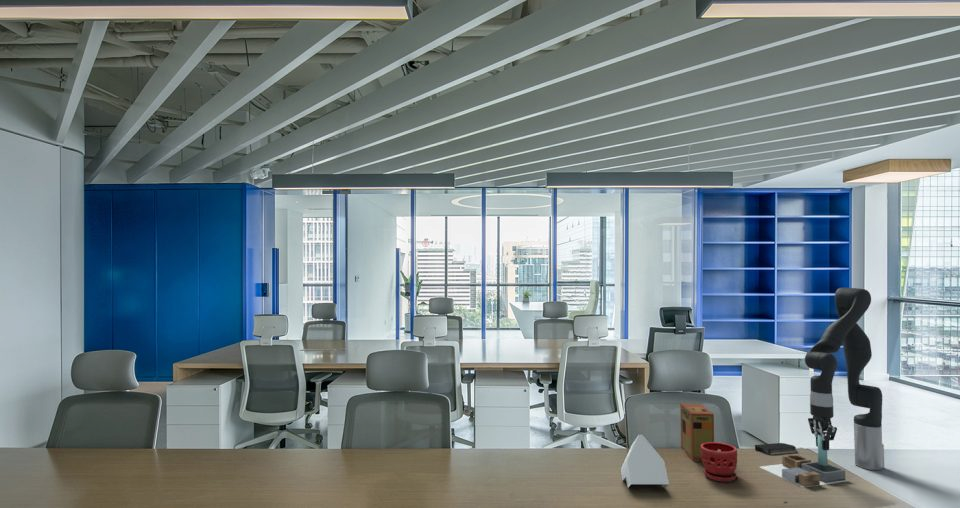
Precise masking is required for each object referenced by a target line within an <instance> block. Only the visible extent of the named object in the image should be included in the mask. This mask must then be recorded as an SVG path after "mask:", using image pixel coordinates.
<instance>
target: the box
mask: <svg viewBox="0 0 960 508" xmlns="http://www.w3.org/2000/svg"><path fill="white" fill-rule="evenodd" d="M679 413H680V448H681V449H682V450H683V451H684V450H685V451H684V452H685V454H686V455H687V456H688V457H689V458H690V460H691V461H692V460H693V461H694V462H702V457H701V444H703V443H708V442H715V422H714V421H715V416H714V413H713V412H712V411H710V410H709V409H708V407H705V406H704V405H703V404H701V403H680V411H679ZM712 451H713V450H712ZM693 461H692V462H693Z"/></svg>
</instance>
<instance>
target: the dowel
mask: <svg viewBox="0 0 960 508" xmlns="http://www.w3.org/2000/svg"><path fill="white" fill-rule="evenodd" d="M825 437H826V434H825ZM817 462H818V464H820V465H823V466H827V465H828V464H829V463H828V450H823V449H822V434H818V447H817Z"/></svg>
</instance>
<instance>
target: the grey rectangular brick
mask: <svg viewBox="0 0 960 508" xmlns="http://www.w3.org/2000/svg"><path fill="white" fill-rule="evenodd" d="M807 472H808V471H806V470H803V469H801V468H799V467H798V468H789V469H782V479H784V478H785V479H784V480H786V479H787V480H786V481H788V480H789V481H788V482H790V481H791V483H792V482H793V484H794V483H799V473H807Z"/></svg>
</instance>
